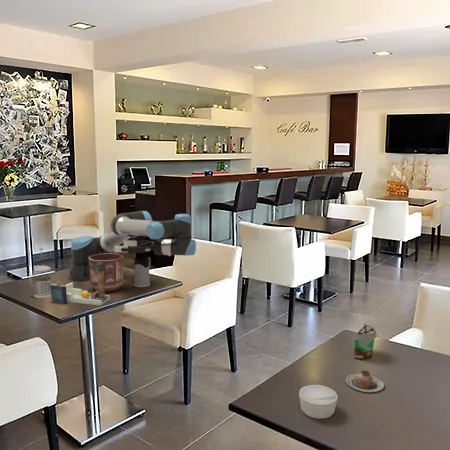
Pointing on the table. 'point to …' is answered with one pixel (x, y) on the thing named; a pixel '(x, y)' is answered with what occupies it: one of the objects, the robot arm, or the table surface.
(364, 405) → the table surface
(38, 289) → the french press
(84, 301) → the pale green tray
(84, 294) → the ball
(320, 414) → the ramekin
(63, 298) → the flask
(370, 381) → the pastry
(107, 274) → the pottery
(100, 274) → the kicker
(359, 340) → the food container
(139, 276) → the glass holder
